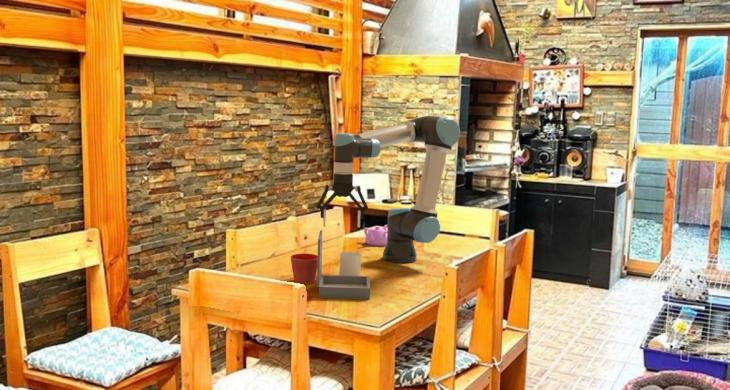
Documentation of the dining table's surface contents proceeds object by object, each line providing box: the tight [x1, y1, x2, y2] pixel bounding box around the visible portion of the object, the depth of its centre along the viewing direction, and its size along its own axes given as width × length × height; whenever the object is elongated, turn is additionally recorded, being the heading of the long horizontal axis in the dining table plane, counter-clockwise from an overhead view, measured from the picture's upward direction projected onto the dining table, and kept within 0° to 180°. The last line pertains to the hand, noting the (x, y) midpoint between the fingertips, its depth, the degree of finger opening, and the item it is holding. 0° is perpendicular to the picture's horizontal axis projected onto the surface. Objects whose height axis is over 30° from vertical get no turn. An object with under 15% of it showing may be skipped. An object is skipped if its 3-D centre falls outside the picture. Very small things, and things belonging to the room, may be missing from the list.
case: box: [316, 229, 371, 300], centre depth 256 cm, size 19×19×21 cm
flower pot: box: [290, 252, 318, 284], centre depth 269 cm, size 11×11×10 cm
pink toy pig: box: [363, 224, 388, 247], centre depth 344 cm, size 12×14×9 cm
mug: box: [338, 250, 362, 276], centre depth 276 cm, size 12×8×10 cm
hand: (341, 226), depth 277 cm, fingers open, 13 cm apart
